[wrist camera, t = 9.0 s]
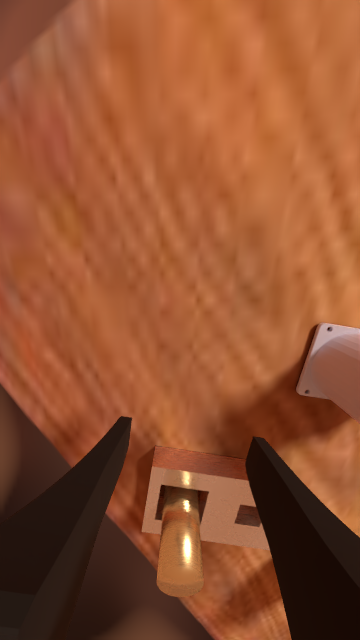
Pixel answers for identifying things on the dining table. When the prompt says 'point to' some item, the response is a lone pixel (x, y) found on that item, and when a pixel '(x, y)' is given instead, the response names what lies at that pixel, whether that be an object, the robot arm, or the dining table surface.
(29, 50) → the dining table surface
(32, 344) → the dining table surface
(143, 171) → the dining table surface
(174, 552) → the brass fitting
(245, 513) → the plate
